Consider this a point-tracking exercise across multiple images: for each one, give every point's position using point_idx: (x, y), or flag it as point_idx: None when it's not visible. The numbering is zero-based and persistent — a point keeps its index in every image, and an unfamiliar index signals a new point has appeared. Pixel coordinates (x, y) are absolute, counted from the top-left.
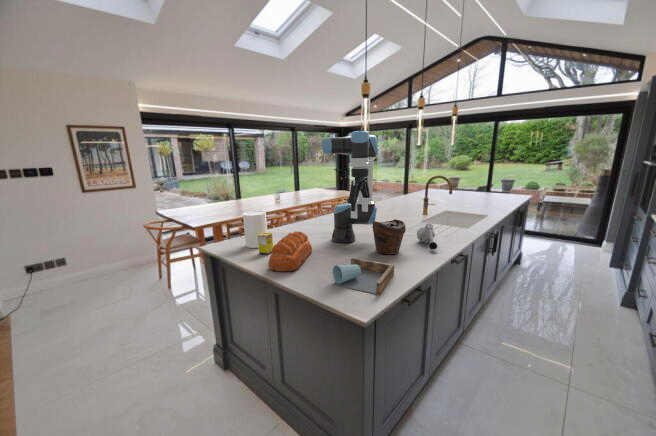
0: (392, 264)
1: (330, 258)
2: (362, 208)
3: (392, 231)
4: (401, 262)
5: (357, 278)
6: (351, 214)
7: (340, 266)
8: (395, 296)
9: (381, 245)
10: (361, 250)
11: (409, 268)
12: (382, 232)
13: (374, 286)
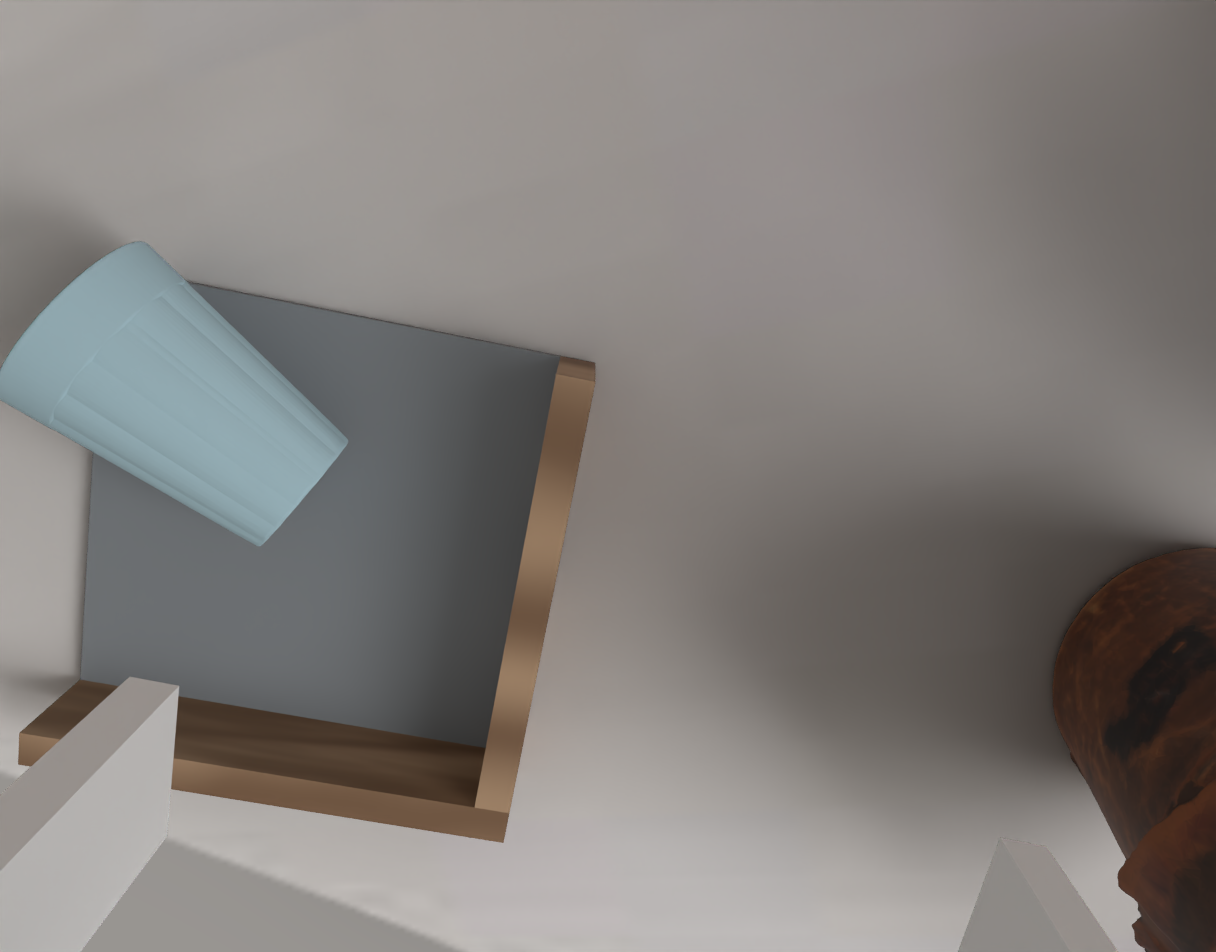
0: (500, 827)
1: (822, 19)
2: (1032, 918)
3: (1174, 942)
4: (837, 821)
5: None
6: (68, 753)
7: (28, 370)
8: None
9: (1109, 667)
10: (1171, 370)
11: (699, 888)
12: (1188, 792)
13: (200, 650)
